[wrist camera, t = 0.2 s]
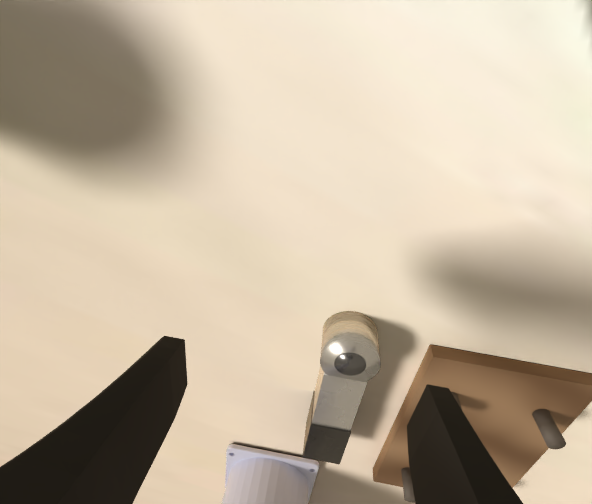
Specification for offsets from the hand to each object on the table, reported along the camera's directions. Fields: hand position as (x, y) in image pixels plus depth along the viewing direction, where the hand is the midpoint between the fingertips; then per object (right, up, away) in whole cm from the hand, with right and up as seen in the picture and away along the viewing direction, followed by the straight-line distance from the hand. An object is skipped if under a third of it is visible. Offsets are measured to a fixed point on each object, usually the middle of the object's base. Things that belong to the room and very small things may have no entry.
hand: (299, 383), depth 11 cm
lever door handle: (+3, -5, +14) cm, 15 cm away
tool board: (+12, -9, +15) cm, 22 cm away
